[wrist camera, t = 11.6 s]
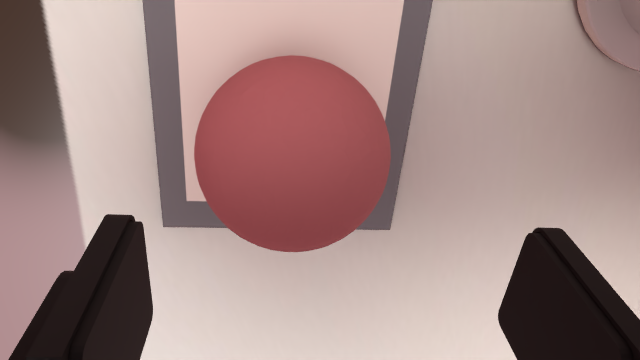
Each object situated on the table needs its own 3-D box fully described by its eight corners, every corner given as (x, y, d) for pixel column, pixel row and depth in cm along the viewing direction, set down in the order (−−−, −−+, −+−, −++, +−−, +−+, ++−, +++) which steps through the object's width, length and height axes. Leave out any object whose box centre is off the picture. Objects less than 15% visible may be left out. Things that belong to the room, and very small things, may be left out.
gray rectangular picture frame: (130, -153, 20) (127, -155, 20) (451, -119, 22) (456, -120, 21) (164, 223, 29) (162, 228, 29) (388, 226, 31) (390, 231, 31)
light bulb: (219, 1, 23) (179, 83, 13) (365, 20, 24) (439, 110, 14) (213, 137, 26) (179, 290, 16) (341, 148, 27) (386, 298, 17)
